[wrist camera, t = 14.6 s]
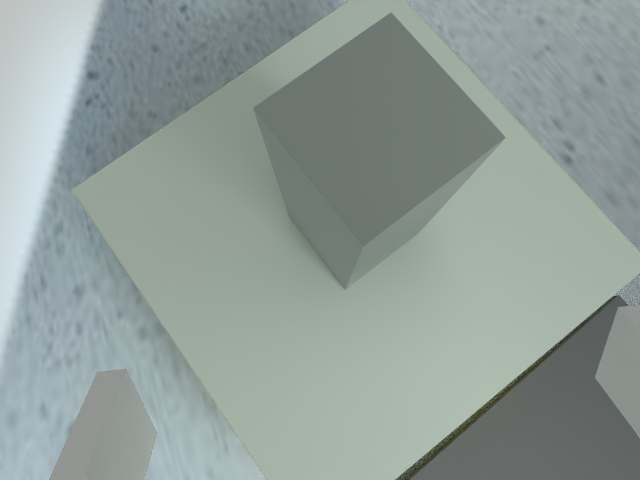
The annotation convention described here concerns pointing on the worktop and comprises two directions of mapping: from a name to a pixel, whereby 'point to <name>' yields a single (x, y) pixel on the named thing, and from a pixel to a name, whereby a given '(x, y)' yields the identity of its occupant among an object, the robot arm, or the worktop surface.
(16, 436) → the worktop surface
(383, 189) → the sage lid
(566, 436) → the rubber mat
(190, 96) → the worktop surface
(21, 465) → the worktop surface
